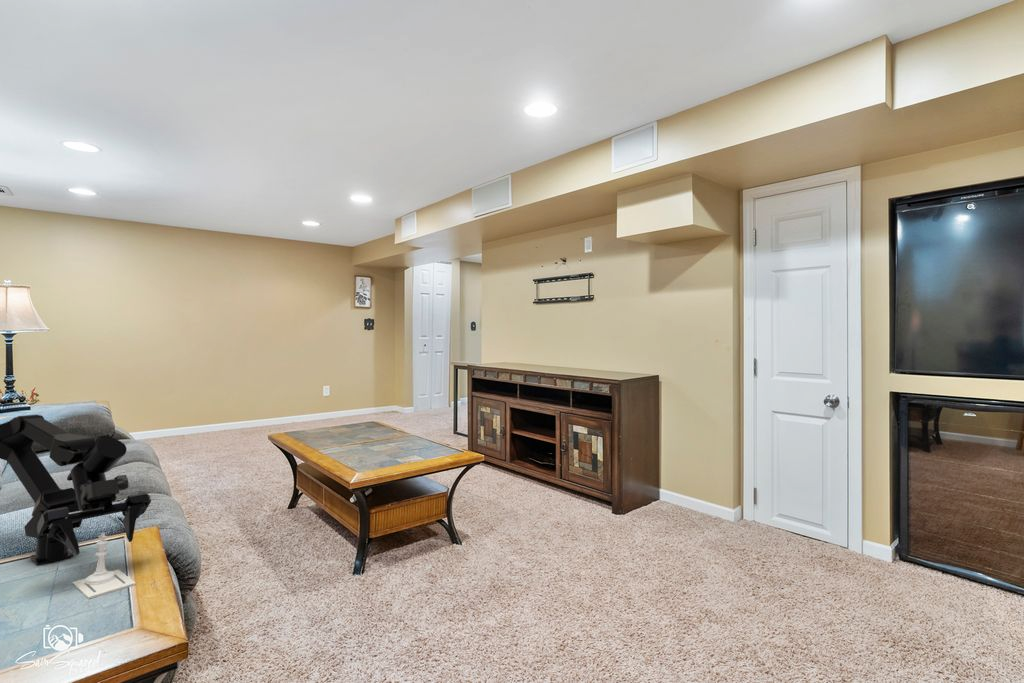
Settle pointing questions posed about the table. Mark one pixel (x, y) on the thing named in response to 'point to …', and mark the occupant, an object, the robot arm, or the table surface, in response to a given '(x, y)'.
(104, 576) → the chess piece
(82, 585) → the slotted cream plate
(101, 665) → the table surface
